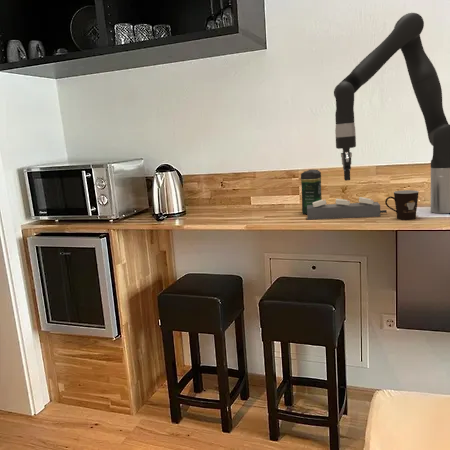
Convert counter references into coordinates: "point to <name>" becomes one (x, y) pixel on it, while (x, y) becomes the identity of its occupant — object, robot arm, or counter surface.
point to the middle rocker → (342, 201)
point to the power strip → (344, 211)
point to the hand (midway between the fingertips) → (347, 180)
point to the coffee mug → (405, 204)
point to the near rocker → (366, 200)
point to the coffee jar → (310, 188)
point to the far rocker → (319, 203)
